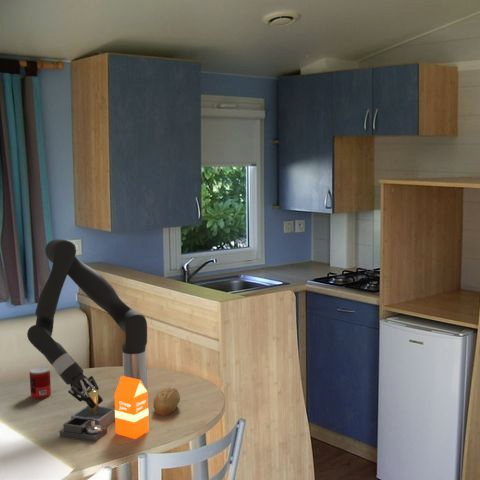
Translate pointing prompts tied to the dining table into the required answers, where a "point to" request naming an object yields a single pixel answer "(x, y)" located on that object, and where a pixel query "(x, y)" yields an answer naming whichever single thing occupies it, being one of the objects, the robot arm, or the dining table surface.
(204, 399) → the dining table surface
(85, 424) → the crank housing
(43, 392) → the canned food
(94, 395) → the cylinder
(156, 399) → the bread roll
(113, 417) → the tray
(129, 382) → the orange juice
